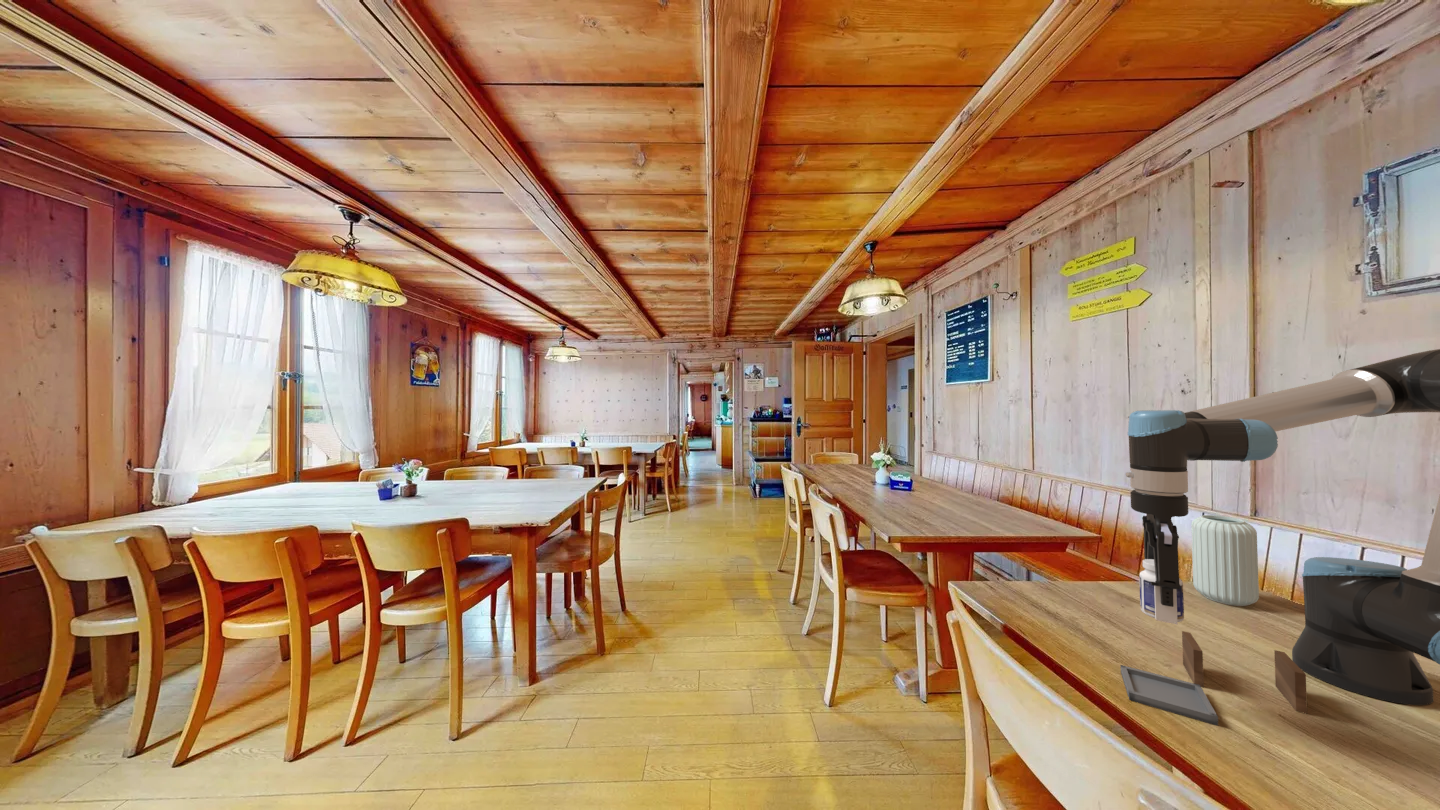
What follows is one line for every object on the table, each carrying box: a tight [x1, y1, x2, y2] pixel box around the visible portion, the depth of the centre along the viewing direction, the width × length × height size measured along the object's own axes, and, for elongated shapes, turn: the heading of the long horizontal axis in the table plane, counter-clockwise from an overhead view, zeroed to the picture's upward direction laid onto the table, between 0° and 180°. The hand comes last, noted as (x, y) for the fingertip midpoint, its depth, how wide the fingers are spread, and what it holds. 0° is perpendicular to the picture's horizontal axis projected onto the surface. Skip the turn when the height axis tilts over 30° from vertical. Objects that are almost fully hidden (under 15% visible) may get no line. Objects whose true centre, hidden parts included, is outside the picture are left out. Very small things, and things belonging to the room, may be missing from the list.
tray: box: [1120, 664, 1219, 727], centre depth 79 cm, size 11×10×2 cm
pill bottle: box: [1138, 559, 1185, 623], centre depth 79 cm, size 6×6×10 cm
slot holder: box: [1181, 630, 1308, 714], centre depth 81 cm, size 13×8×7 cm, turn 53°
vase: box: [1190, 514, 1260, 607], centre depth 115 cm, size 12×12×22 cm
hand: (1161, 613), depth 79 cm, fingers closed on pill bottle, 6 cm apart
